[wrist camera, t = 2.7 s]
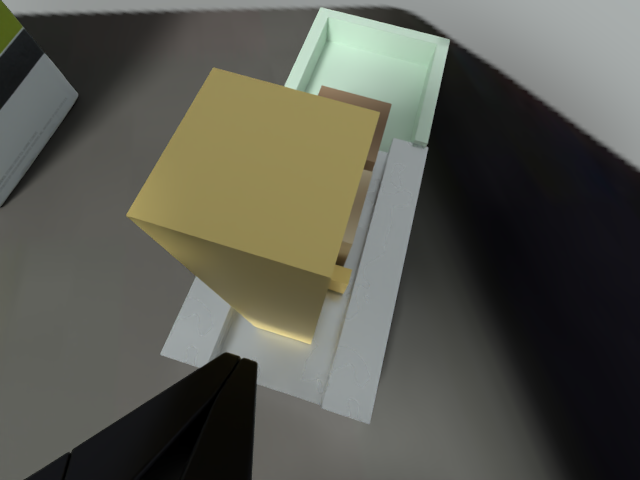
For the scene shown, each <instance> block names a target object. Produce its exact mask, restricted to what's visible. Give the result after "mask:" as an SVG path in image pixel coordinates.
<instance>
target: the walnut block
mask: <svg viewBox="0 0 640 480" xmlns="http://www.w3.org/2000/svg"><path fill="white" fill-rule="evenodd" d="M318 96H321V97H325V98H329V99H333V100H336V101H340V102H344V103H348V104H351V105H355V106H359V107H362V108H366V109H370V110H374V111H377V112H380V115H379V118H378V122H377V125H376V129H375V132H374V135H373V139H372V142H371V145H370V149H369V152H368V155H367V159H366V162H365V166H364V170H367V171H371V172H372V171H373V168H374V165H375V162H376V159H377V155H378V151H379V148H380V144H381V141H382V137H383V134H384V130H385V127H386V123H387V120H388V116H389V113H390V109H391V105H392V104H390V103H387V102H383V101H379V100H375V99H372V98H368V97H364V96H360V95H357V94H353V93H349V92H345V91H342V90H338V89H334V88H330V87H326V86H323V85H322V86H321V89H320V91H319V93H318Z"/></svg>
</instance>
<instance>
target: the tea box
mask: <svg viewBox="0 0 640 480" xmlns="http://www.w3.org/2000/svg"><path fill="white" fill-rule="evenodd" d="M77 97H78V93H77V92H76V91H75V89H74V88H73V87H72V86H71V85H70V83H69V82H68V81H67V79H66V78H65V77H64V75H63V74H62V73H61V72H60V70H59V69H58V68H57V67H56V66H55V64H54V63H53V62H52V61H51V60H50V58H49V57H48V56H47V55H46V54H45V53H44V52H43V50H42V49H41V48H40V47H39V45H38V44H37V43H36V42H35V41H34V39H33V38H32V37H31V36H30V35H29V33H28V32H27V31H26V29H25V28H24V27H23V26H22V25H21V23H20V22H19V21H18V20H17V19H16V17H15V16H14V15H13V14H12V13H11V11H10V10H9V9H8V8H7V6H6V5H5V4H4V3H3V2H2V0H0V207H1V206H2V204H3V203H4V202H5V200H6V199H7V198H8V196H9V195H10V193H11V192H12V191H13V189H14V188H15V187H16V185H17V184H18V183H19V181H20V180H21V178H22V177H23V176H24V174H25V173H26V171H27V170H28V169H29V167H30V166H31V164H32V163H33V162H34V160H35V159H36V157H37V156H38V155H39V153H40V152H41V150H42V149H43V148H44V146H45V145H46V143H47V142H48V141H49V139H50V138H51V136H52V135H53V133H54V132H55V131H56V129H57V128H58V126H59V125H60V123H61V122H62V121H63V119H64V118H65V116H66V115H67V113H68V112H69V110H70V109H71V107H72V106H73V104H74V103H75V101H76V99H77Z"/></svg>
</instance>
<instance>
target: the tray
mask: <svg viewBox="0 0 640 480" xmlns="http://www.w3.org/2000/svg"><path fill="white" fill-rule="evenodd" d="M449 42H450V39H446V38H442V37H438V36H434V35H430V34H426V33H422V32H418V31H414V30H410V29H406V28H402V27H398V26H394V25H390V24H386V23H382V22H378V21H374V20H370V19H366V18H362V17H358V16H353V15H349V14H345V13H341V12H337V11H333V10H329V9H325V8H320V10H319V12H318V14H317V16H316V19H315V21H314V23H313V25H312V27H311V29H310V32H309V34H308V36H307V38H306V40H305V43H304V45H303V47H302V49H301V51H300V53H299V56H298V58H297V60H296V62H295V64H294V66H293V69H292V71H291V73H290V75H289V77H288V79H287V82H286V84H285V86H284V87H288V88H292V89H295V90H299V91H303V92H306V93H310V94H314V95H318V93H319V91H320V89H321V86H322V85H323V86H326V87H330V88H334V89H338V90H342V91H345V92H349V93H353V94H357V95H360V96H364V97H368V98H372V99H375V100H379V101H383V102H387V103H390V104H392V105H391V109H390V113H389V116H388V120H387V123H386V127H385V130H384V134H383V137H382V141H381V144H380V148H379V151H383V152H387V153H388V151H389V148H390V145H391V143H392V140H393V138H396V139H400V140H404V141H407V142H411V143H415V144H418V145H422V146H427V144H428V140H429V135H430V131H431V126H432V121H433V117H434V112H435V107H436V103H437V98H438V93H439V89H440V84H441V79H442V75H443V70H444V65H445V61H446V56H447V51H448V47H449Z"/></svg>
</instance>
